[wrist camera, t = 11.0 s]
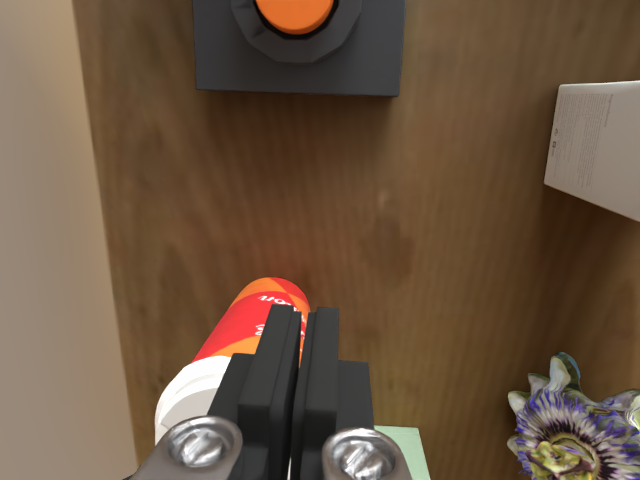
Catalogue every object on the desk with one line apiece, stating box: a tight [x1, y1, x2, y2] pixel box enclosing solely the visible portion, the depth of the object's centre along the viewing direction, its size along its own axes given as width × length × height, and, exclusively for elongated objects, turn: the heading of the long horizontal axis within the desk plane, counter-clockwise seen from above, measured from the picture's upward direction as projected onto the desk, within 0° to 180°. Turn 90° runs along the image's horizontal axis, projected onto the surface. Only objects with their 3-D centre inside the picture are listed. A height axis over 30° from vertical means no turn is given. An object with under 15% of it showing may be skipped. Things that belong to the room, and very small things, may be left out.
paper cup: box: [155, 277, 310, 480], centre depth 27 cm, size 8×8×14 cm
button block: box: [192, 0, 406, 97], centre depth 26 cm, size 12×10×4 cm
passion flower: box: [507, 352, 640, 480], centre depth 32 cm, size 11×11×12 cm
